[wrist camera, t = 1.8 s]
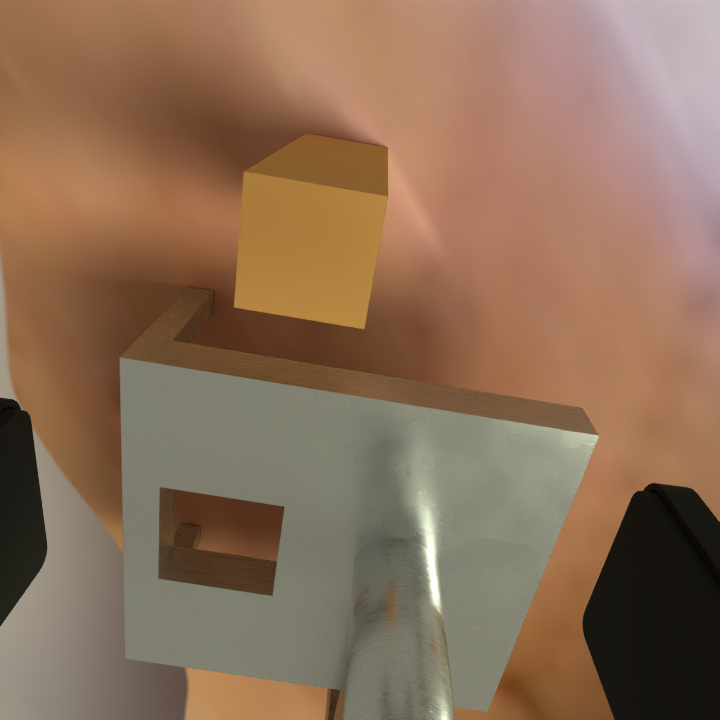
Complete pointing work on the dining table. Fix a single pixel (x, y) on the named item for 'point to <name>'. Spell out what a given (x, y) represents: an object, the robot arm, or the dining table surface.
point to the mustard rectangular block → (312, 230)
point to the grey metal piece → (338, 520)
